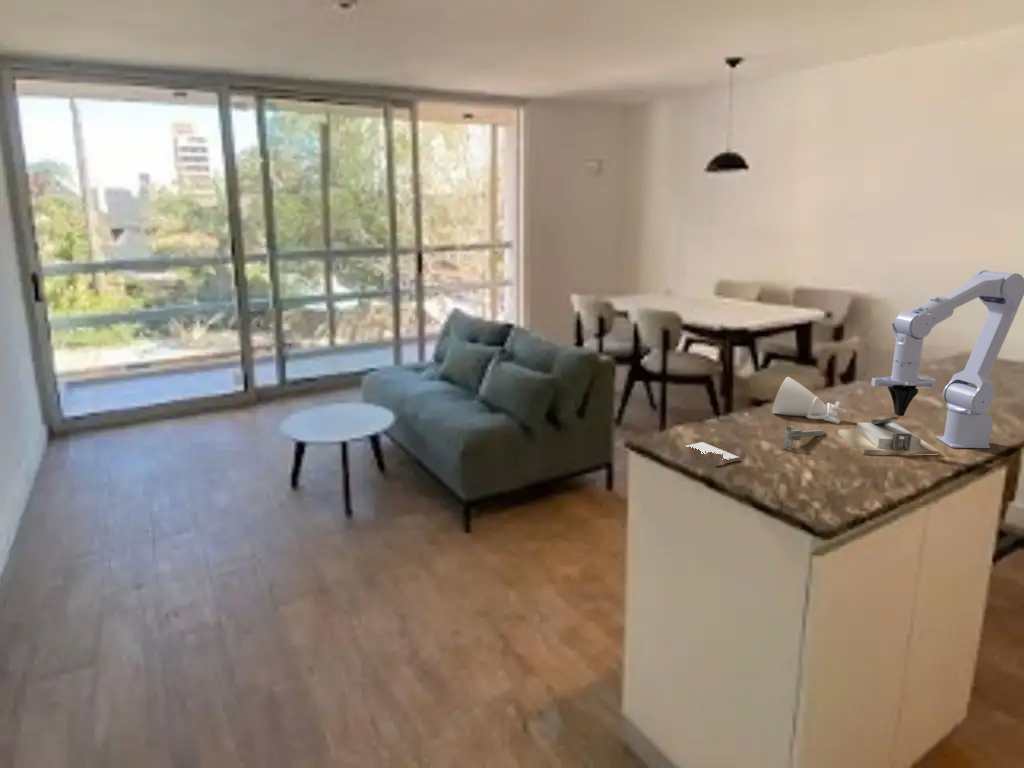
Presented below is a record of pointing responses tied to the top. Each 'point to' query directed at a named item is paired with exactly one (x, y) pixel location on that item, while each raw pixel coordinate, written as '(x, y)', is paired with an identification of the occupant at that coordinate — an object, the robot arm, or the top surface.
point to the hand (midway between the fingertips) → (899, 414)
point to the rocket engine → (804, 403)
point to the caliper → (798, 435)
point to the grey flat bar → (890, 420)
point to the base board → (881, 451)
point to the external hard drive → (712, 450)
